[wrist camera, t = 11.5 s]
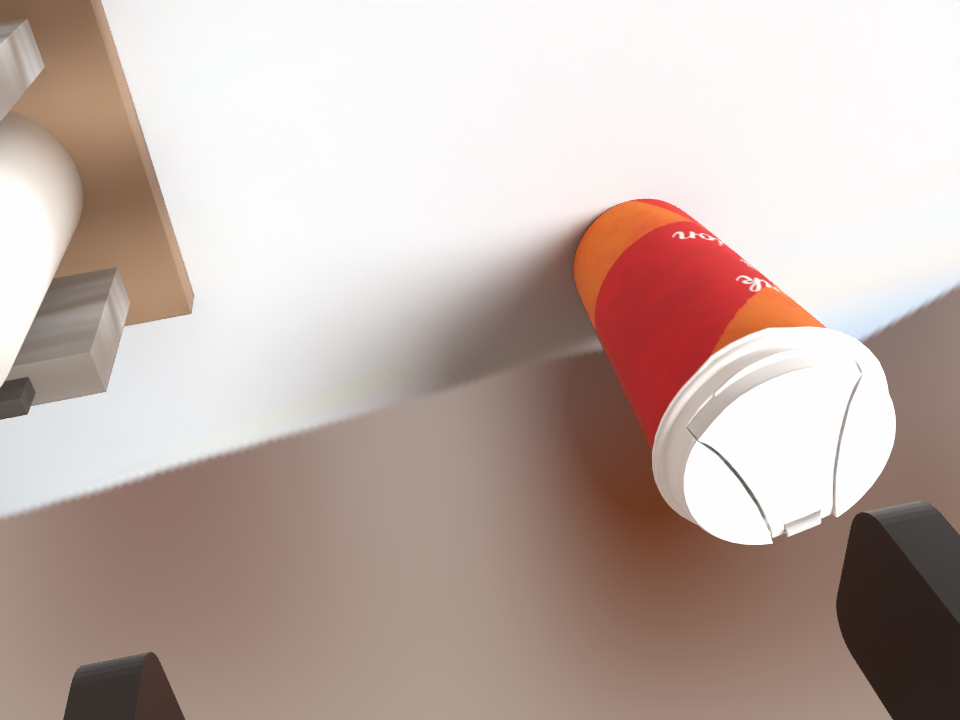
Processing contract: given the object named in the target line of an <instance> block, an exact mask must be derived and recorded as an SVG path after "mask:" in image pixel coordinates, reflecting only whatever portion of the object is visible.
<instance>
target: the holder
mask: <svg viewBox="0 0 960 720" xmlns="http://www.w3.org/2000/svg"><path fill="white" fill-rule="evenodd" d="M9 111H13V112H16V113H18V114H21V115H23V116H25V117H27V118H29V119H31V120H32V121H34V122H36V123H37V124H39V125H40V126H42V127H43V128H45V129H46V130H47V131H48V132H49V133H51V134H52V135H53V136H54V137H55V138H56V139H57V140H58V141H59V142H60V143H61V144H62V145H63V147H64V148H65V149H66V151H67V152H68V153H69V155H70V156H71V158H72V160H73V162H74V163H75V165H76V168H77V170H78V173H79V175H80V179H81V182H82V187H83V209H82V215H81V217H80V220H79V223H78V225H77V228H76V230H75V232H74V234H73V236H72V238H71V240H70V243H69V245H68V247H67V249H66V251H65V253H64V256H63V258H62V260H61V262H60V264H59V266H58V268H57V271H56V273H55V275H54V277H53V279H52V281H51V283H50V286H49V288H48V290H47V292H46V294H45V296H44V299H43V301H42V303H41V305H40V307H39V309H38V311H37V314H36V316H35V318H34V320H33V322H32V324H31V326H30V329H29V331H28V333H27V335H26V337H25V339H24V342H23V344H22V346H21V348H20V350H19V352H18V354H17V357H16V359H15V361H14V363H13V365H12V367H11V369H10V372H9V374H8V376H7V377H6V379H5V381H4V383H3V385H2V386H1V387H0V420H1V419H6V418H12V417H17V416H22V415H27V414H28V412H29V409H30V406H34V405H40V404H45V403H50V402H55V401H60V400H66V399H71V398H76V397H81V396H87V395H92V394H97V393H102V392H106V390H107V386H108V383H109V379H110V375H111V372H112V368H113V364H114V361H115V357H116V353H117V350H118V346H119V342H120V339H121V335H122V331H123V328H124V326H128V325H133V324H139V323H144V322H150V321H155V320H160V319H166V318H171V317H177V316H182V315H188V314H191V313H192V306H193V299H194V294H193V290H192V287H191V284H190V281H189V278H188V275H187V271H186V268H185V265H184V262H183V259H182V256H181V253H180V249H179V246H178V243H177V240H176V237H175V234H174V230H173V227H172V224H171V221H170V218H169V215H168V211H167V208H166V205H165V202H164V199H163V196H162V192H161V189H160V186H159V183H158V180H157V177H156V173H155V170H154V167H153V164H152V161H151V158H150V154H149V151H148V148H147V145H146V142H145V139H144V135H143V132H142V129H141V126H140V123H139V120H138V117H137V113H136V110H135V107H134V104H133V101H132V98H131V94H130V91H129V88H128V85H127V82H126V79H125V75H124V72H123V69H122V66H121V63H120V60H119V56H118V53H117V50H116V47H115V44H114V41H113V37H112V34H111V31H110V28H109V25H108V22H107V18H106V15H105V12H104V9H103V6H102V3H101V0H0V122H1V121H2V119H3V118H4V117H5V116H6V115H7V113H8V112H9Z"/></svg>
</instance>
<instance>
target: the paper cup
mask: <svg viewBox="0 0 960 720" xmlns="http://www.w3.org/2000/svg"><path fill="white" fill-rule="evenodd" d="M573 271H574V279H575V284H576V287H577V290H578V293H579V295H580V298H581V300H582V303H583V305H584V307H585V310H586V312H587V314H588V316H589V319H590V321H591V323H592V325H593V327H594V330H595V332H596V334H597V336H598V338H599V340H600V343H601V345H602V347H603V349H604V351H605V353H606V355H607V358H608V360H609V362H610V364H611V366H612V368H613V371H614V373H615V375H616V377H617V379H618V381H619V383H620V385H621V388H622V390H623V392H624V394H625V396H626V398H627V400H628V402H629V405H630V407H631V409H632V411H633V413H634V415H635V417H636V419H637V422H638V424H639V426H640V428H641V430H642V432H643V434H644V436H645V438H646V440H647V443H648V445H649V447H650V449H651V451H652V468H653V473H654V478H655V482H656V484H657V486H658V489H659V491H660V493H661V495H662V496H663V498H664V499H665V500H666V502H667V503H668V504H669V506H670V507H671V508H672V509H674V510H675V511H676V512H677V513H678V514H679V515H681V516H682V517H684V518H686V519H687V520H689V521H691V522H693V523H695V524H697V525H699V526H700V527H701V528H702V529H703V530H705V531H707V532H708V533H710V534H712V535H714V536H716V537H718V538H721V539H724V540H727V541H730V542H734V543H740V544H752V545H753V544H754V545H761V544H772V539H771V536H770V534H771V535H772V537H776V536H779V535H781V534H783V533H786V535H787V537H789V536H791V535H794V534H796V533H799V532H801V531H804V530H806V529H809V528H811V527H814V526H816V525H819V524H821V520H820V519H821V518H823V517H826V516H828V515H830V514H831V513H832V514H833V515H834V516H835V517H838V516H840V515H841V514H842V513H844V512H845V511H847V510H848V509H849V508H850V507H851V506H853V505H854V504H855V503H856V502H857V501H858V500H859V499H860V498H861V497H862V496H863V495H864V494H865V493H866V492H867V490H868V489H869V488H870V487H871V486H872V485H873V483H874V482H875V480H876V479H877V478H878V476H879V475H880V473H881V472H882V470H883V468H884V466H885V464H886V462H887V460H888V458H889V455H890V452H891V449H892V447H893V442H894V437H895V412H894V408H893V403H892V400H891V398H890V396H889V393H888V386H887V382H886V377H885V374H884V372H883V370H882V367H881V365H880V363H879V361H878V360H877V359H876V357H875V356H874V355H873V354H872V352H871V351H870V350H869V349H868V348H867V347H865V346H864V345H863V344H862V343H860V342H859V341H858V340H856V339H854V338H852V337H850V336H848V335H846V334H844V333H842V332H838V331H835V330H831V329H828V328H826V327H825V326H824V325H823V324H821V323H820V322H819V321H818V320H816V319H815V318H814V317H813V316H812V315H810V314H809V313H808V312H807V311H806V310H804V309H803V308H802V307H801V306H800V305H798V304H797V303H796V302H795V301H794V300H792V299H791V298H790V297H789V296H788V295H786V294H785V293H784V292H783V291H781V290H780V289H779V288H778V287H777V286H775V285H774V284H773V283H772V282H771V281H769V280H768V279H767V278H766V277H765V276H763V275H762V274H761V273H760V272H759V271H757V270H756V269H755V268H754V267H753V266H751V265H750V264H749V263H748V262H746V261H745V260H744V259H743V258H742V257H740V256H739V255H738V254H737V253H735V252H734V251H733V250H732V249H731V248H729V247H728V246H727V245H726V244H725V243H723V242H722V241H721V240H720V239H718V238H717V237H716V236H715V235H713V234H712V233H711V232H710V231H708V230H707V229H706V228H705V227H703V226H702V225H701V224H700V223H698V222H697V221H696V220H694V219H693V218H692V217H690V216H689V215H688V214H686V213H685V212H684V211H682V210H681V209H679V208H677V207H676V206H674V205H672V204H670V203H667V202H664V201H661V200H656V199H637V200H632V201H628V202H624V203H622V204H619V205H617V206H615V207H613V208H611V209H609V210H608V211H606V212H605V213H603V214H602V215H601V216H600V217H598V218H597V219H596V220H595V221H594V222H593V223H592V224H591V225H590V227H589V228H588V229H587V230H586V232H585V233H584V235H583V237H582V238H581V240H580V242H579V244H578V247H577V250H576V253H575V257H574V265H573Z"/></svg>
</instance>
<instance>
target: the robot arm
mask: <svg viewBox="0 0 960 720" xmlns="http://www.w3.org/2000/svg"><path fill="white" fill-rule="evenodd" d="M836 609H837V617H838V622H839V626H840V630H841V633H842V636H843V638H844V641H845V643H846V645H847V647H848V649H849V651H850V653H851V655H852V656H853V658H854V659H855V661H856V662H857V664H858V666H859V667H860V669H861V670H862V672H863V673H864V675H865V677H866V678H867V680H868V681H869V683H870V684H871V686H872V687H873V689H874V691H875V692H876V694H877V695H878V697H879V699H880V700H881V702H882V703H883V705H884V706H885V708H886V710H887V711H888V713H889V714H890V716H891V717H892V719H893V720H960V535H959V534H958V533H957V532H956V530H955V529H954V528H953V527H952V526H951V525H950V524H949V522H948V521H947V520H946V519H945V518H944V517H943V516H942V514H941V513H940V512H939V511H938V510H937V509H935V508H934V507H933V506H932V505H931V504H929V503H927V502H924V501H916V502H911V503H906V504H901V505H896V506H891V507H886V508H881V509H876V510H871V511H866V512H861V513H859V514H857V515H856V516H855V518H854V519H853V521H852V525H851V529H850V534H849V539H848V544H847V549H846V554H845V559H844V564H843V569H842V574H841V580H840V584H839V590H838V594H837V601H836ZM63 720H185V718H184V716H183V714H182V711H181V709H180V707H179V705H178V702H177V700H176V698H175V695H174V693H173V691H172V688H171V686H170V684H169V681H168V679H167V677H166V674H165V672H164V670H163V668H162V665H161V663H160V661H159V659H158V657H157V656H156V655H155V654H154V653H153V652H148V653H143V654H138V655H133V656H128V657H123V658H118V659H113V660H108V661H103V662H98V663H93V664H88V665H83V666H80V668H78V669H77V671H76V672H75V674H74V677H73V680H72V683H71V687H70V692H69V696H68V701H67V705H66V710H65V714H64V719H63Z"/></svg>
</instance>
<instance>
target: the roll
mask: <svg viewBox="0 0 960 720" xmlns="http://www.w3.org/2000/svg"><path fill="white" fill-rule="evenodd" d="M82 209H83V187H82V182H81V179H80V175H79V173H78V170H77V168H76V165H75V163H74V162H73V160H72V158H71V156H70V155H69V153H68V152H67V151H66V149H65V148H64V147H63V145H62V144H61V143H60V142H59V141H58V140H57V139H56V138H55V137H54V136H53V135H52V134H51V133H49V132H48V131H47V130H46V129H45V128H43V127H42V126H40V125H39V124H37V123H36V122H34V121H32V120H31V119H29V118H27V117H25V116H23V115H21V114H18V113H16V112H13V111H9V112H8V113H7V115H6V116H5V117H4V118H3V119H2V121H1V122H0V387H1V386H2V385H3V383H4V381H5V379H6V377H7V376H8V374H9V372H10V369H11V367H12V365H13V363H14V361H15V359H16V357H17V354H18V352H19V350H20V348H21V346H22V344H23V342H24V339H25V337H26V335H27V333H28V331H29V329H30V326H31V324H32V322H33V320H34V318H35V316H36V314H37V311H38V309H39V307H40V305H41V303H42V301H43V299H44V296H45V294H46V292H47V290H48V288H49V286H50V283H51V281H52V279H53V277H54V275H55V273H56V271H57V268H58V266H59V264H60V262H61V260H62V258H63V256H64V253H65V251H66V249H67V247H68V245H69V243H70V240H71V238H72V236H73V234H74V232H75V230H76V228H77V225H78V223H79V220H80V217H81V215H82Z"/></svg>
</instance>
